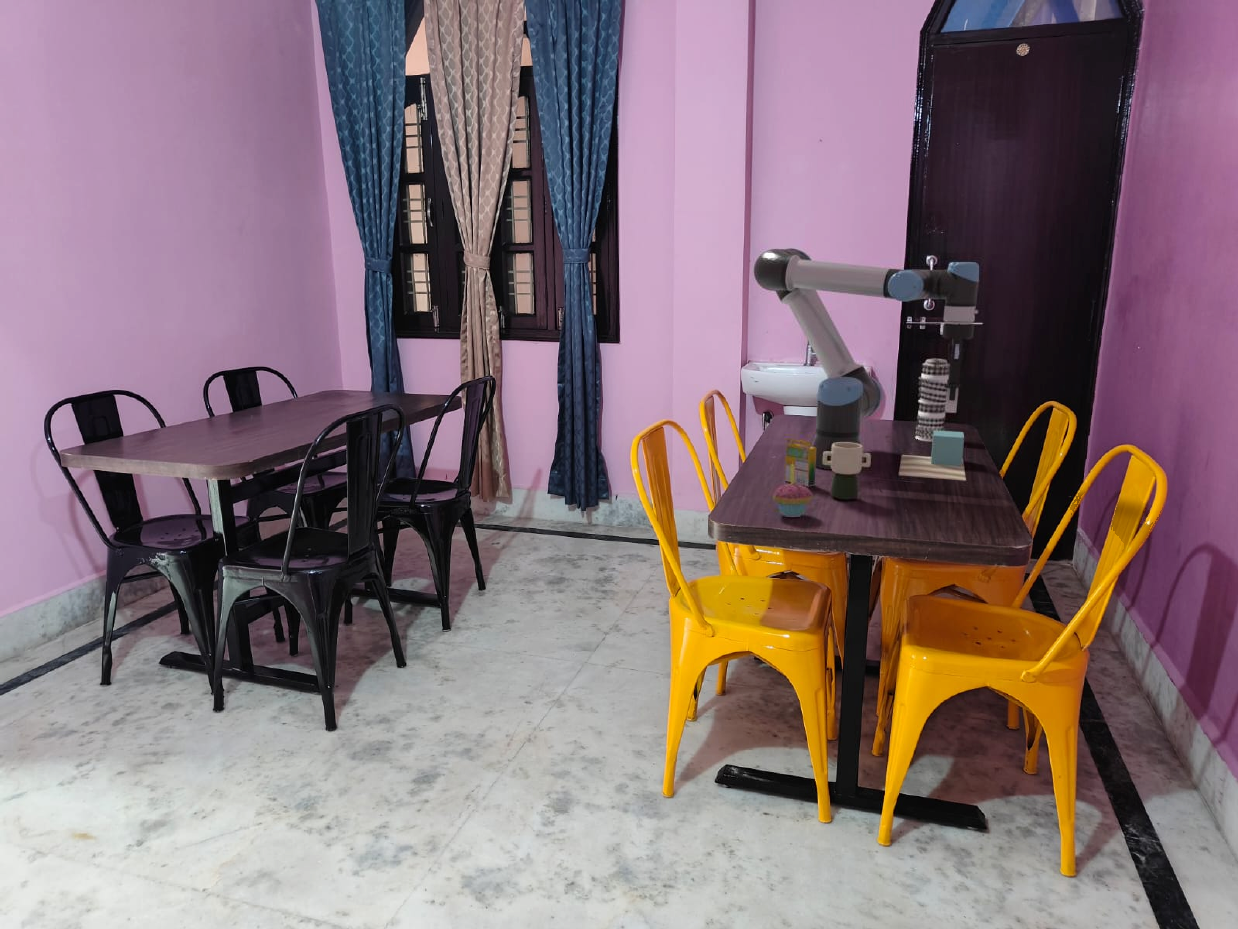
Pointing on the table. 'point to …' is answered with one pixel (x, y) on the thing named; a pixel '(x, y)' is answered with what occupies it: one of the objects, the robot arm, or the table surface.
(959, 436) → the teal cube
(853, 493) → the character mug
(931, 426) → the decorative candle
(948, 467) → the base board
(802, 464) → the crayon box
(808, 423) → the table surface
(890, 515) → the table surface
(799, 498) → the cupcake
